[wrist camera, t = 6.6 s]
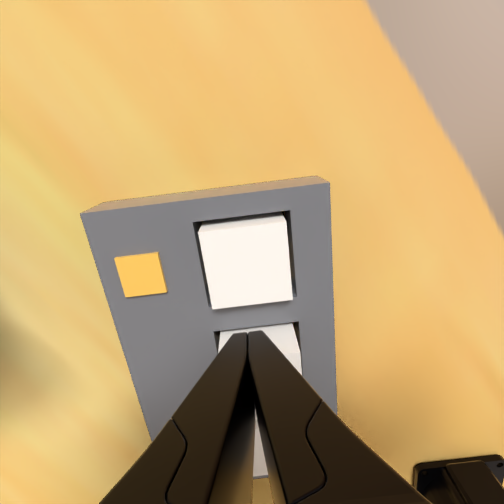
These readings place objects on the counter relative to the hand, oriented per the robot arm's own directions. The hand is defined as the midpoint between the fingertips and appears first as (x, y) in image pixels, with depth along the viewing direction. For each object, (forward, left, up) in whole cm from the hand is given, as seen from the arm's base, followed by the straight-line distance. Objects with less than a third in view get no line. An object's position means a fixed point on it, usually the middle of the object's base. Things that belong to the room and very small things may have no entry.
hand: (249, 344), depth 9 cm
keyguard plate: (-6, +1, -9) cm, 11 cm away
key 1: (0, 0, -9) cm, 9 cm away
